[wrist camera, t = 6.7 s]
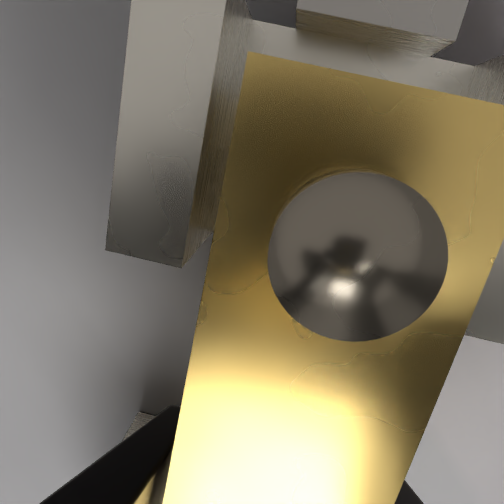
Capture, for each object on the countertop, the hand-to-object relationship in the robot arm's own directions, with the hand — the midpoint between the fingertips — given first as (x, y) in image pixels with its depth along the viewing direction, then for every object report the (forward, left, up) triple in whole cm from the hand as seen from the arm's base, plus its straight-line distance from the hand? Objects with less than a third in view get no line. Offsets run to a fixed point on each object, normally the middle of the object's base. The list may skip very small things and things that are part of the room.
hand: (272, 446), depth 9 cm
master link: (0, 0, -2) cm, 2 cm away
